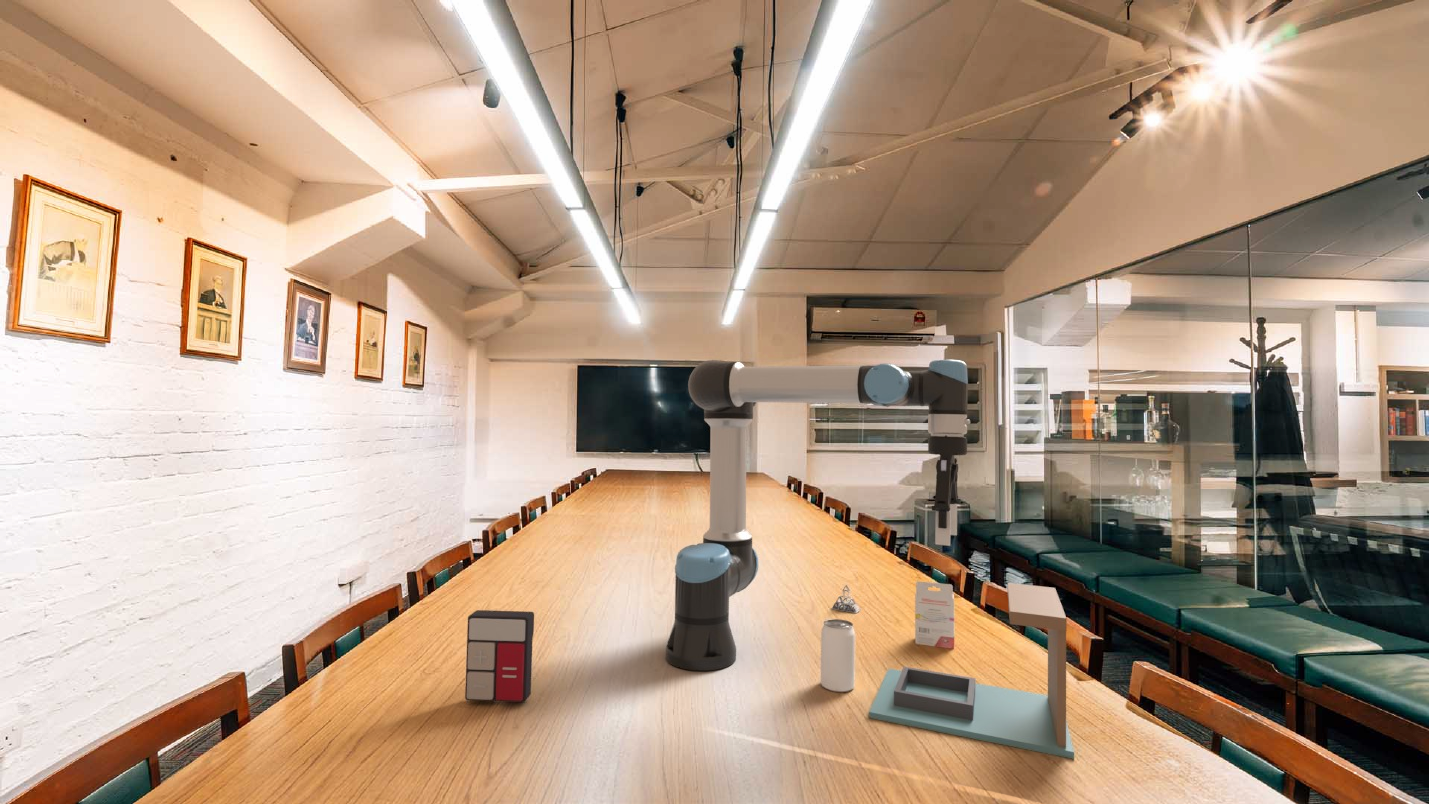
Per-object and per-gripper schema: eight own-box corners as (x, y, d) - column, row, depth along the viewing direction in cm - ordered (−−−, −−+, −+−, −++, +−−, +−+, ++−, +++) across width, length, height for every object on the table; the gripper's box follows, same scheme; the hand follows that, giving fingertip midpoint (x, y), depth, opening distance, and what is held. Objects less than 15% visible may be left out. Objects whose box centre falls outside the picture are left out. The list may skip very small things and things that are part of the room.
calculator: (462, 702, 113) (465, 616, 114) (472, 692, 118) (475, 609, 118) (524, 704, 113) (527, 618, 114) (532, 694, 117) (534, 611, 118)
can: (854, 694, 120) (855, 629, 120) (819, 691, 121) (820, 627, 122) (854, 681, 126) (855, 619, 127) (821, 678, 128) (821, 617, 128)
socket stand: (869, 717, 111) (870, 594, 111) (888, 673, 131) (889, 569, 131) (1074, 758, 98) (1074, 620, 99) (1060, 702, 118) (1060, 588, 119)
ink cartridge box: (954, 644, 150) (955, 580, 150) (954, 650, 145) (954, 585, 145) (916, 638, 153) (916, 576, 153) (914, 645, 148) (915, 581, 149)
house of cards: (873, 611, 176) (873, 583, 176) (862, 619, 169) (862, 589, 169) (841, 605, 181) (842, 578, 181) (829, 613, 174) (830, 584, 174)
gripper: (961, 436, 119) (960, 551, 118) (971, 435, 141) (970, 532, 141) (919, 435, 122) (918, 547, 121) (935, 434, 145) (934, 529, 144)
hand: (946, 539), depth 131 cm, fingers open, 13 cm apart
